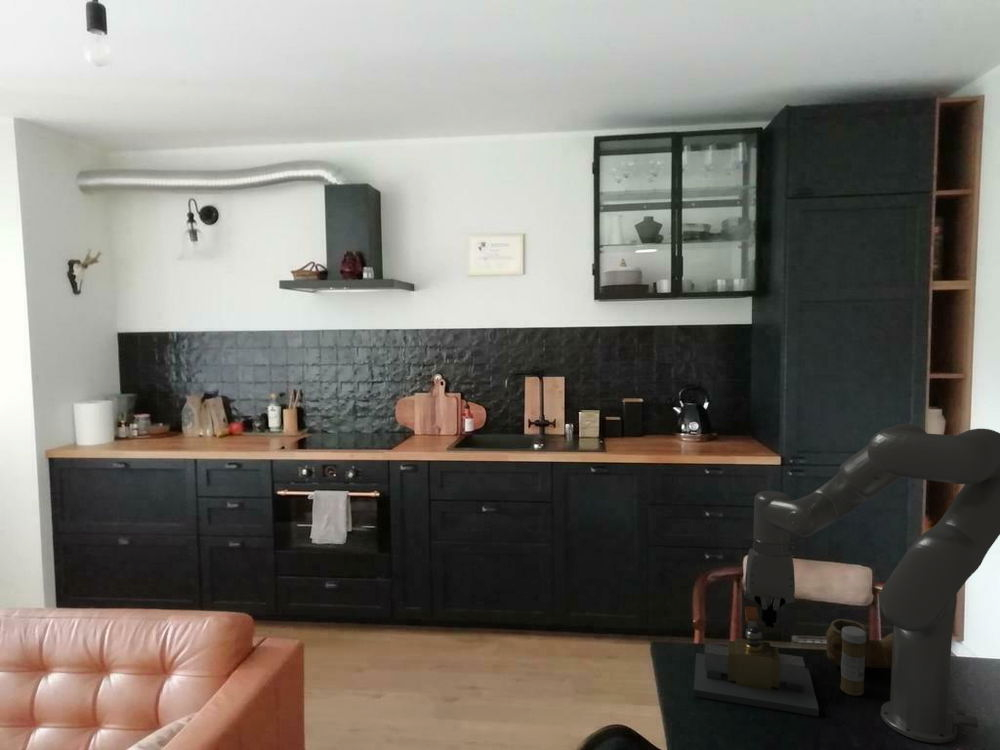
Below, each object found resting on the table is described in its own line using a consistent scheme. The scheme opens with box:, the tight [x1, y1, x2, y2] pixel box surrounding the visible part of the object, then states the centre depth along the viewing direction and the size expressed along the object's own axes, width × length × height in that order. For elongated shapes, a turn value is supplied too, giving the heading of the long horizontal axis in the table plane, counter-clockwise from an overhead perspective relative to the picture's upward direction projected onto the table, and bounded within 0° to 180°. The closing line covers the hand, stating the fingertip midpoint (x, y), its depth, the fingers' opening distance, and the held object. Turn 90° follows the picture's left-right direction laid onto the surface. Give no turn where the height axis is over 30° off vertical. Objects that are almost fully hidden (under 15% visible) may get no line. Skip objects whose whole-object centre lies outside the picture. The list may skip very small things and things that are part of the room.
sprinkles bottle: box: [839, 626, 866, 697], centre depth 140 cm, size 5×5×14 cm
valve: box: [704, 637, 806, 692], centre depth 143 cm, size 20×7×9 cm, turn 72°
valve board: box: [693, 652, 820, 717], centre depth 143 cm, size 24×16×2 cm, turn 72°
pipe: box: [825, 618, 893, 670], centre depth 149 cm, size 9×16×10 cm, turn 82°
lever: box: [744, 605, 763, 641], centre depth 148 cm, size 14×3×2 cm, turn 162°
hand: (768, 624), depth 151 cm, fingers closed
